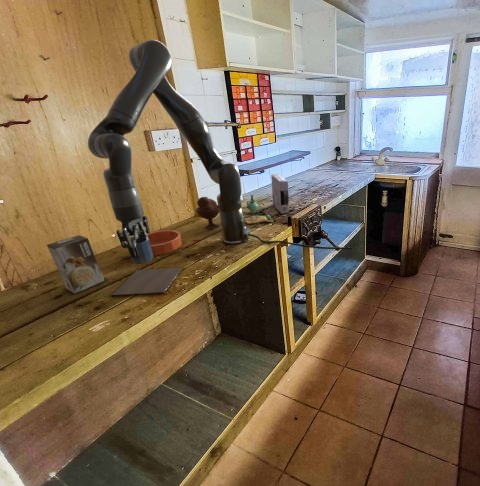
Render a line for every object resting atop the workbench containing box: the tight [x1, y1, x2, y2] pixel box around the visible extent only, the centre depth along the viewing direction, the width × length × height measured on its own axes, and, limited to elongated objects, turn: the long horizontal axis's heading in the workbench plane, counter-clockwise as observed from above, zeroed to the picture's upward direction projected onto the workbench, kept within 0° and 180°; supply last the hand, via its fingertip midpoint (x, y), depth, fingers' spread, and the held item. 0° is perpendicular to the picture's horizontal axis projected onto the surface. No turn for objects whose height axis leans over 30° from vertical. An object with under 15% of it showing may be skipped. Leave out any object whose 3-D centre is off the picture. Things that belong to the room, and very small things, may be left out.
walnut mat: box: [111, 267, 183, 297], centre depth 105 cm, size 16×16×1 cm
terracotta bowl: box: [148, 229, 183, 256], centre depth 129 cm, size 17×17×4 cm
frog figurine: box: [242, 194, 275, 225], centre depth 153 cm, size 10×18×15 cm, turn 67°
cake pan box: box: [270, 173, 290, 215], centre depth 169 cm, size 19×5×18 cm, turn 23°
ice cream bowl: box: [195, 196, 219, 229], centre depth 147 cm, size 11×11×15 cm
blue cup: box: [127, 237, 154, 265], centre depth 100 cm, size 6×6×7 cm
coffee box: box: [46, 234, 105, 294], centre depth 101 cm, size 9×6×16 cm
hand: (141, 252), depth 100 cm, fingers closed on blue cup, 6 cm apart
